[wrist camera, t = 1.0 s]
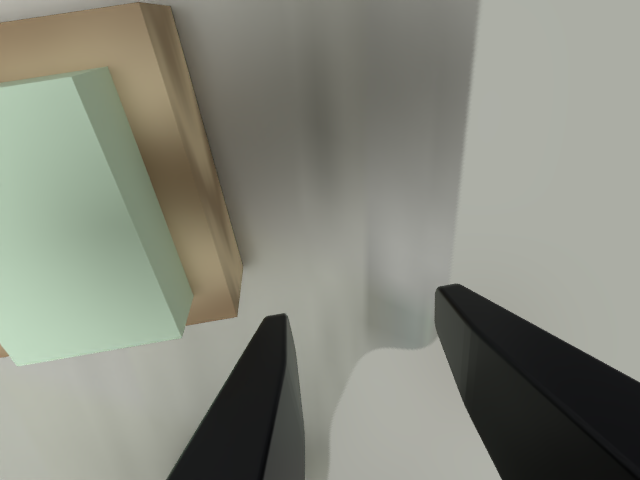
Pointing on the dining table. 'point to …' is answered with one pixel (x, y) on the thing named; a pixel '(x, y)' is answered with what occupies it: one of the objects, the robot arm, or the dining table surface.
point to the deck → (147, 128)
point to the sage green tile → (80, 225)
